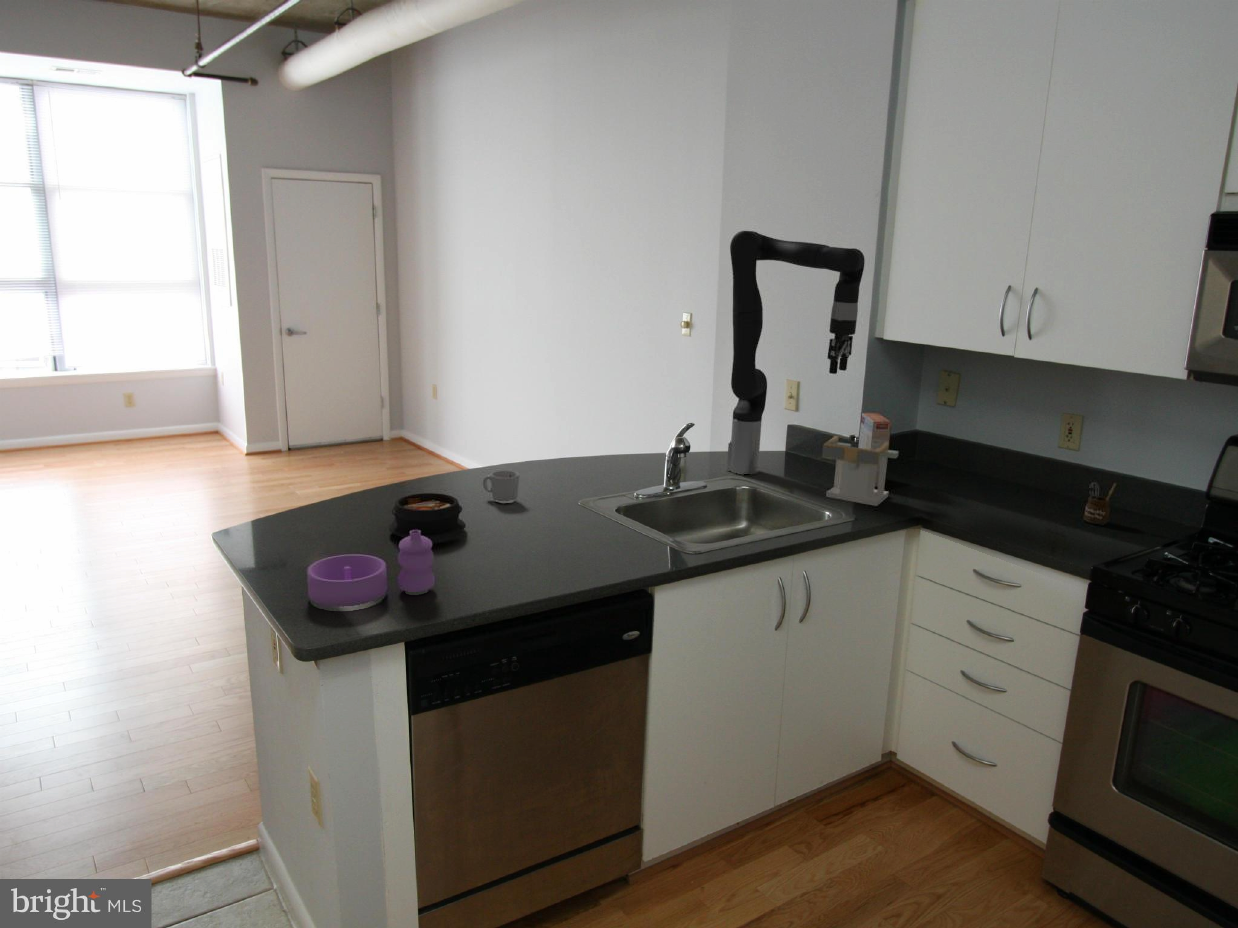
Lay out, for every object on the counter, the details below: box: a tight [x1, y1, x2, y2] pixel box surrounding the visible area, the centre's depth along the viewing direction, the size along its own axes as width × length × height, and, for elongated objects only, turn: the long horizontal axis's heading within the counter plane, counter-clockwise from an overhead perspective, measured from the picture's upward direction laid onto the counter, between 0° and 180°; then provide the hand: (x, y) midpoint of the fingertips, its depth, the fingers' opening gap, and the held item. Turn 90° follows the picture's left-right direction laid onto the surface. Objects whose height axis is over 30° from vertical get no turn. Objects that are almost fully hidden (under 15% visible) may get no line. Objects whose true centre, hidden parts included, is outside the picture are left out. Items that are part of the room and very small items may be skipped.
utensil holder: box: [1083, 482, 1117, 524], centre depth 246 cm, size 6×6×12 cm
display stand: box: [825, 441, 900, 507], centre depth 261 cm, size 20×15×15 cm
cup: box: [482, 470, 520, 501], centre depth 248 cm, size 11×8×8 cm
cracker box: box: [857, 412, 892, 488], centre depth 279 cm, size 14×6×21 cm, turn 179°
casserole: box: [388, 492, 467, 545], centre depth 220 cm, size 25×19×8 cm
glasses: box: [821, 435, 890, 466], centre depth 261 cm, size 16×14×4 cm
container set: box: [306, 530, 436, 607], centre depth 182 cm, size 25×15×13 cm, turn 107°
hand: (837, 371), depth 268 cm, fingers open, 8 cm apart
